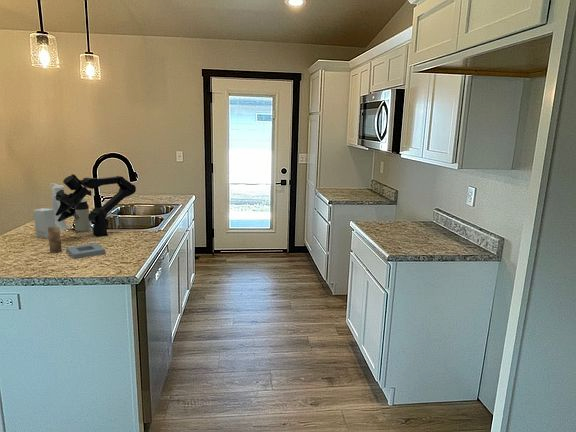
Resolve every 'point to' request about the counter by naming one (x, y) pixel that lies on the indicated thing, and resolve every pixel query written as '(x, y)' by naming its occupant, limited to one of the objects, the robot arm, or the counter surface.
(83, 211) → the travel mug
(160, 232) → the counter surface
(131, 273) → the counter surface
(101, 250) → the frame
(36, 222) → the skincare box
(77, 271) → the counter surface
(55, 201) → the skyscraper
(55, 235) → the walnut peg
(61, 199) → the robot arm
